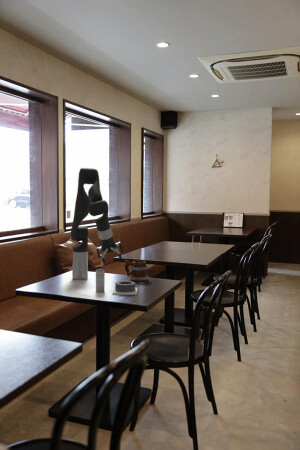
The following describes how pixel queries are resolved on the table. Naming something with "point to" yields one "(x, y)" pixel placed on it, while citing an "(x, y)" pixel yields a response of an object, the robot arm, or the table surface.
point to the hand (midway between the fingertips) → (112, 261)
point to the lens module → (100, 280)
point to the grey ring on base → (125, 288)
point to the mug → (137, 270)
